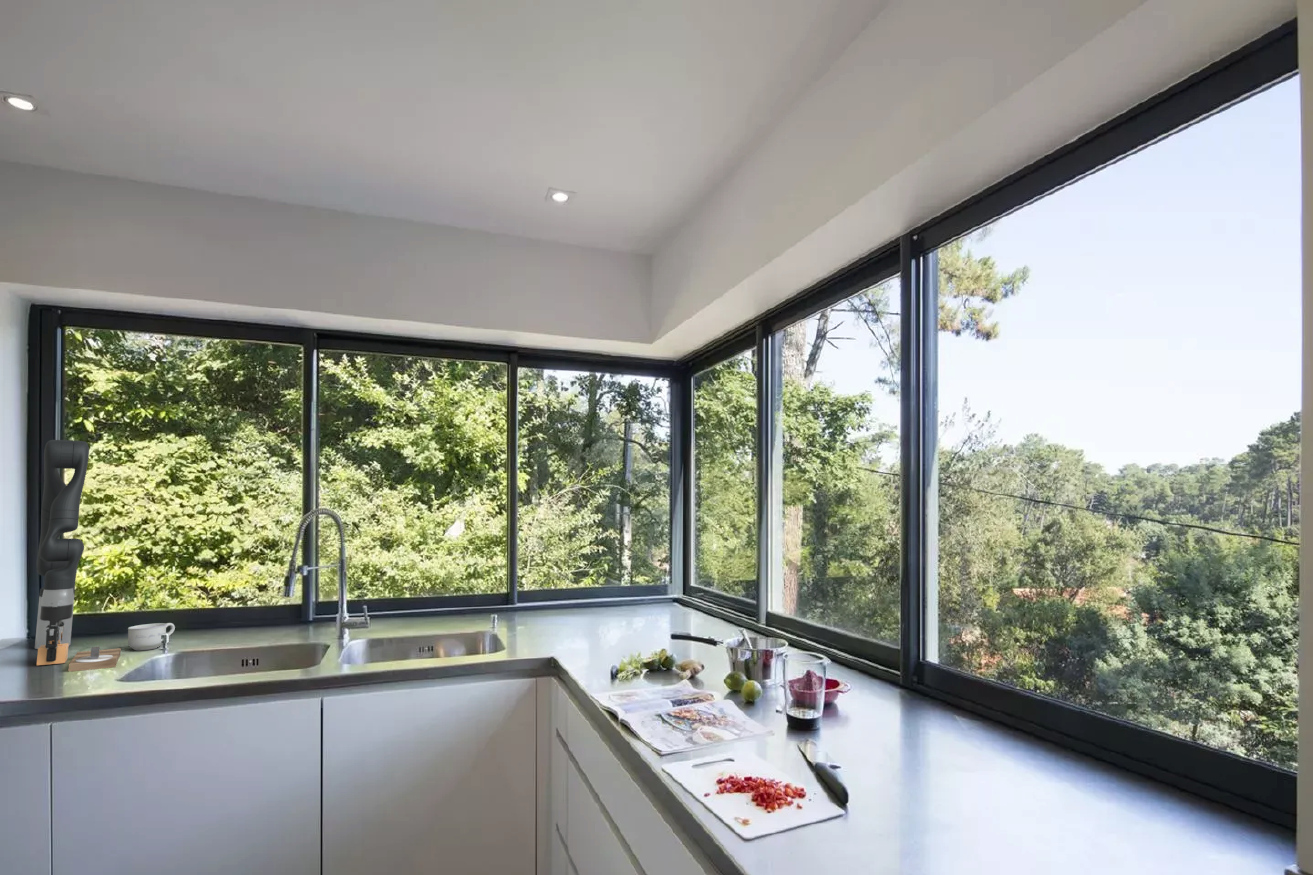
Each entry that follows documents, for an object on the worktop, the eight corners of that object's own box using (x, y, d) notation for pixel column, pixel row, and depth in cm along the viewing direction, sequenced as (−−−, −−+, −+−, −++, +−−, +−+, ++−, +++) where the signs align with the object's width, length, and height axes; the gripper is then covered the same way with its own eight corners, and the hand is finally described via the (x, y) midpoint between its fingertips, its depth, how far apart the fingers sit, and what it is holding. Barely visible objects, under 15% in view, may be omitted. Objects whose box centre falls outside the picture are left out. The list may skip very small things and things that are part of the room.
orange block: (36, 665, 212) (38, 648, 213) (39, 661, 217) (41, 645, 217) (64, 662, 216) (66, 646, 217) (67, 659, 220) (68, 643, 221)
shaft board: (77, 658, 223) (78, 640, 224) (120, 654, 230) (121, 637, 230) (68, 671, 207) (69, 652, 207) (115, 667, 213) (116, 648, 213)
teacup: (132, 653, 231) (134, 628, 232) (121, 649, 237) (123, 625, 238) (180, 647, 242) (182, 623, 243) (168, 642, 249) (170, 619, 249)
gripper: (45, 601, 222) (40, 656, 220) (37, 607, 210) (32, 665, 208) (75, 599, 226) (71, 653, 225) (69, 605, 214) (64, 662, 213)
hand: (52, 659), depth 217 cm, fingers closed on orange block, 5 cm apart
